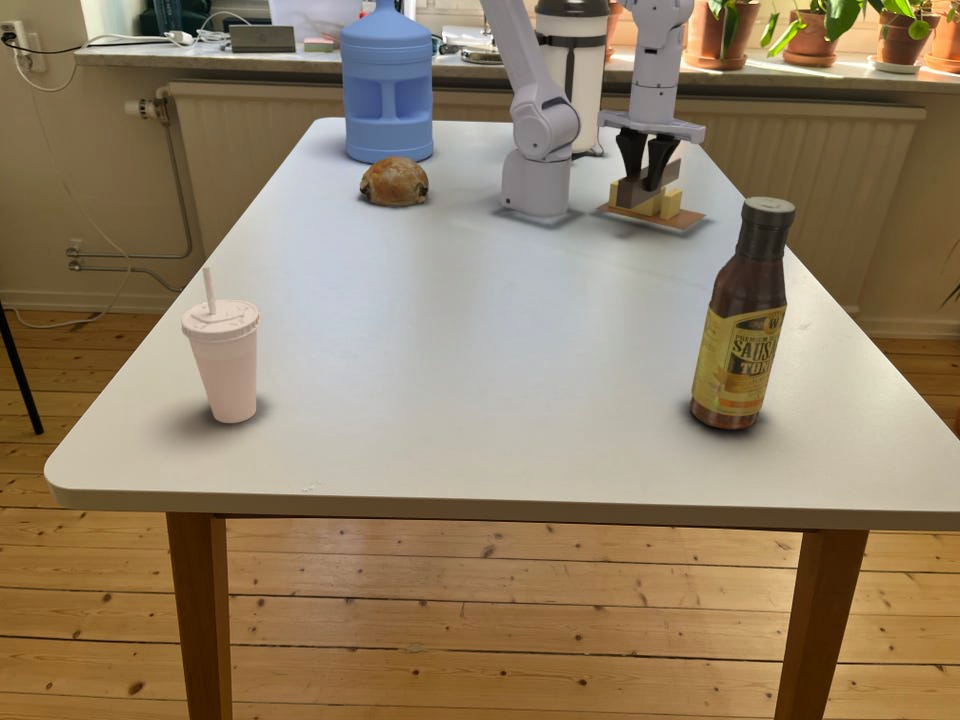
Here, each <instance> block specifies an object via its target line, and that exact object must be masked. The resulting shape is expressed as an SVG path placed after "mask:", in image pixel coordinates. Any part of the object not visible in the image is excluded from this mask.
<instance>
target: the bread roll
mask: <svg viewBox="0 0 960 720" xmlns="http://www.w3.org/2000/svg"><path fill="white" fill-rule="evenodd" d="M429 185H430V184H429V178H428V175H427V173H426V171H425V170H424V168H423V167H422V166H421V165H420V164H419V163H417V161H416V162H413V161H412V160H411V159H410V158H402V157H388V158H385V159H382V160H380V161H378V162H376V163H374V164H373V163H372V165H371V166H369V167H368V169H367V170H366V171H365V172H364V173H363V174H362V177H361V180H360V182H359V192H360V194H362V195H364V198H365V200H367V201H368V202H370V203H372V204H374V205H379V206H383V207H390V206H395V207H396V206H397V207H405V206H406V207H407V206H414V205H416V204H422V203H423V202H425V201H426V199H427V198H426V197H427V195H428V192H429Z"/></svg>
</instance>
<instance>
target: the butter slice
mask: <svg viewBox="0 0 960 720" xmlns="http://www.w3.org/2000/svg"><path fill="white" fill-rule="evenodd" d="M682 196H683V189H680V188H673V189H671V190H670V191H668V192H665V195H663V201H662V208H661V216H660V219H664V220H669V219H670V218H672V217H674V216H675V215H677V214H679V211H680V209H681V204H682Z"/></svg>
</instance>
